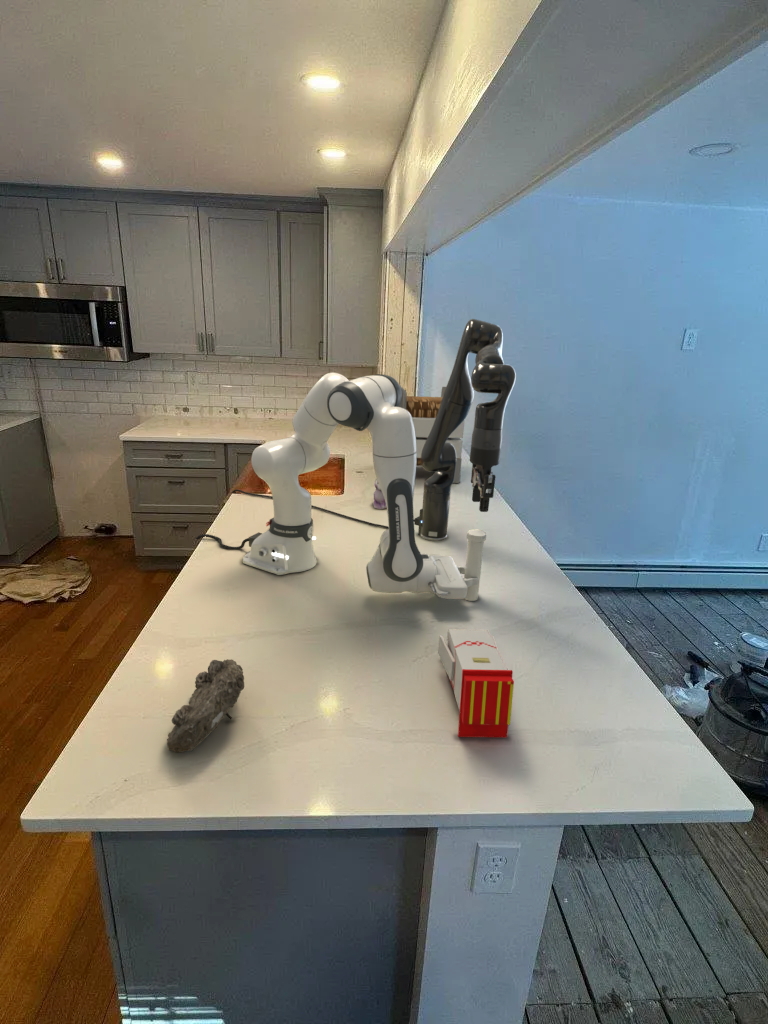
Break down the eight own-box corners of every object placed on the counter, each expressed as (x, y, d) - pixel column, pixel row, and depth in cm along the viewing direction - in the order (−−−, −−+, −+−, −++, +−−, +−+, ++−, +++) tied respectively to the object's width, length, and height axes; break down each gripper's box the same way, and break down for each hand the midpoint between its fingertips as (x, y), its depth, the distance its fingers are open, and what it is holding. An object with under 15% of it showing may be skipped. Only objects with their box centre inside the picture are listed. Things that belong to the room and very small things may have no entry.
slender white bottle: (461, 599, 156) (468, 536, 150) (462, 592, 160) (469, 530, 154) (477, 601, 156) (484, 537, 149) (478, 594, 159) (485, 532, 153)
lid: (466, 541, 150) (466, 534, 149) (467, 534, 155) (467, 528, 154) (485, 543, 149) (486, 537, 148) (486, 536, 154) (486, 530, 153)
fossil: (192, 660, 117) (244, 628, 112) (224, 691, 120) (276, 661, 115) (142, 746, 98) (202, 712, 93) (182, 779, 101) (242, 748, 96)
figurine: (377, 511, 221) (379, 474, 216) (366, 503, 229) (367, 467, 224) (399, 508, 225) (401, 471, 220) (387, 500, 233) (388, 465, 228)
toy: (488, 613, 130) (523, 677, 101) (484, 667, 133) (517, 744, 104) (435, 612, 130) (455, 676, 101) (432, 666, 133) (451, 743, 103)
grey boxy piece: (382, 463, 289) (386, 382, 275) (445, 464, 293) (451, 384, 279) (390, 482, 257) (394, 392, 243) (460, 483, 261) (468, 394, 247)
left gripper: (433, 583, 143) (486, 583, 145) (420, 550, 163) (467, 550, 164) (432, 605, 146) (484, 604, 147) (419, 570, 165) (465, 570, 166)
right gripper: (508, 452, 137) (501, 516, 142) (493, 439, 150) (486, 497, 156) (478, 451, 136) (472, 515, 142) (465, 438, 150) (459, 497, 155)
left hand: (475, 576), depth 156 cm, fingers closed on slender white bottle, 4 cm apart
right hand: (479, 506), depth 149 cm, fingers open, 7 cm apart
